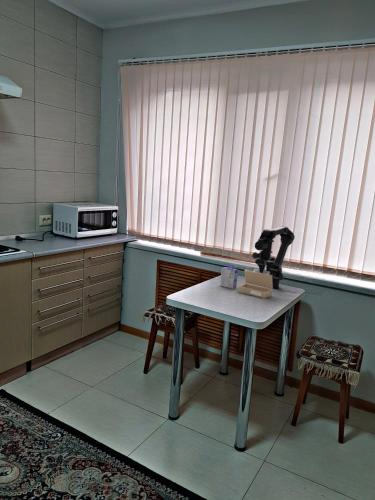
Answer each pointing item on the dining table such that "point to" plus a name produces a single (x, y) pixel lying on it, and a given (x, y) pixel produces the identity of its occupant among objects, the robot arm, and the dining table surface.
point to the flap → (258, 278)
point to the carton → (255, 291)
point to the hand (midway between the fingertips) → (264, 273)
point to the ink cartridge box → (229, 277)
